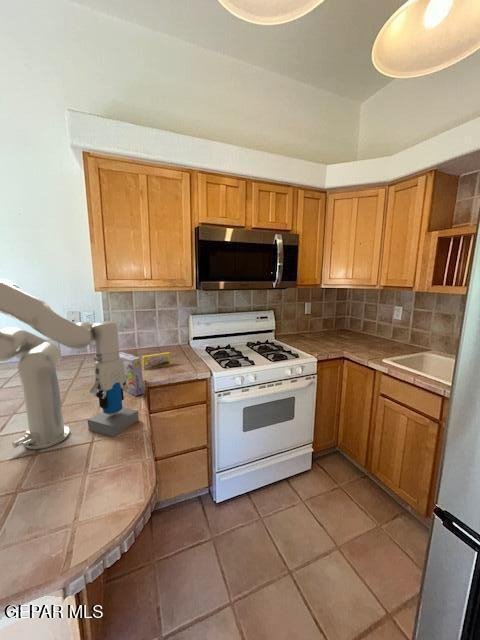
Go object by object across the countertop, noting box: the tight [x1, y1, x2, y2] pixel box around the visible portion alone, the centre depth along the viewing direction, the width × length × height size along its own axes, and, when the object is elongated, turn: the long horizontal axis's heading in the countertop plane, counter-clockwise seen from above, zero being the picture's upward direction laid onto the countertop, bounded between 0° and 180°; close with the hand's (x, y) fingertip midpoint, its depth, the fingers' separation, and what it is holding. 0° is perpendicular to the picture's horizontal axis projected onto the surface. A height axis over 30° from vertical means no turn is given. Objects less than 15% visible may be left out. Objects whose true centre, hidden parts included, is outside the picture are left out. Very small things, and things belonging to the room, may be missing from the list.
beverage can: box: [102, 381, 123, 415], centre depth 99 cm, size 6×6×12 cm
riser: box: [87, 406, 139, 438], centre depth 100 cm, size 12×12×4 cm
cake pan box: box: [119, 351, 145, 397], centre depth 131 cm, size 19×5×18 cm, turn 50°
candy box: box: [142, 351, 171, 371], centre depth 165 cm, size 16×2×8 cm, turn 123°
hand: (112, 403), depth 99 cm, fingers closed on beverage can, 6 cm apart
